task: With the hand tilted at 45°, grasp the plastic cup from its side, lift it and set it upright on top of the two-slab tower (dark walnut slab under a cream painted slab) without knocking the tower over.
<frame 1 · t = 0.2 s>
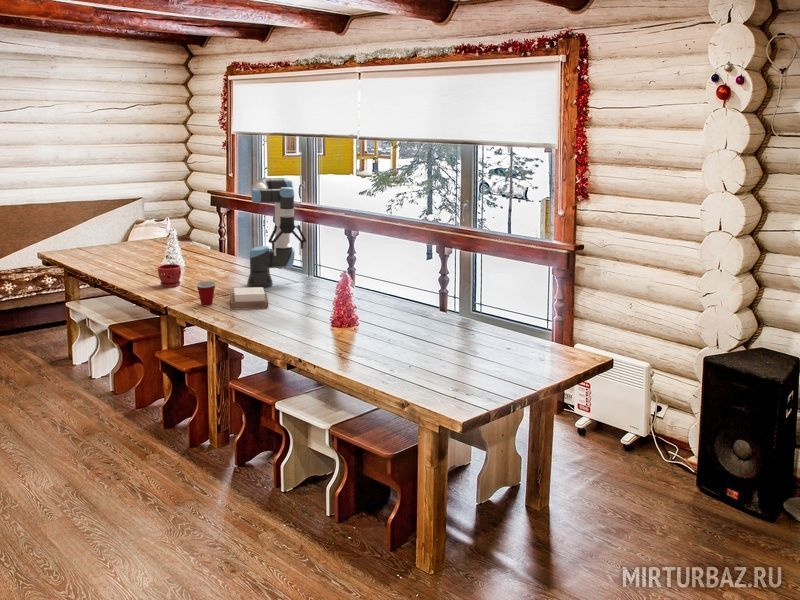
hand: (287, 255, 438), 28 cm above the table, tool pointing down, fingers open, 13 cm apart
tower top slab: (249, 297, 443), point 3 cm above the table
tower base slab: (249, 305, 444), on the table
plant pot: (170, 286, 481), on the table
plastic cup: (206, 304, 440), on the table
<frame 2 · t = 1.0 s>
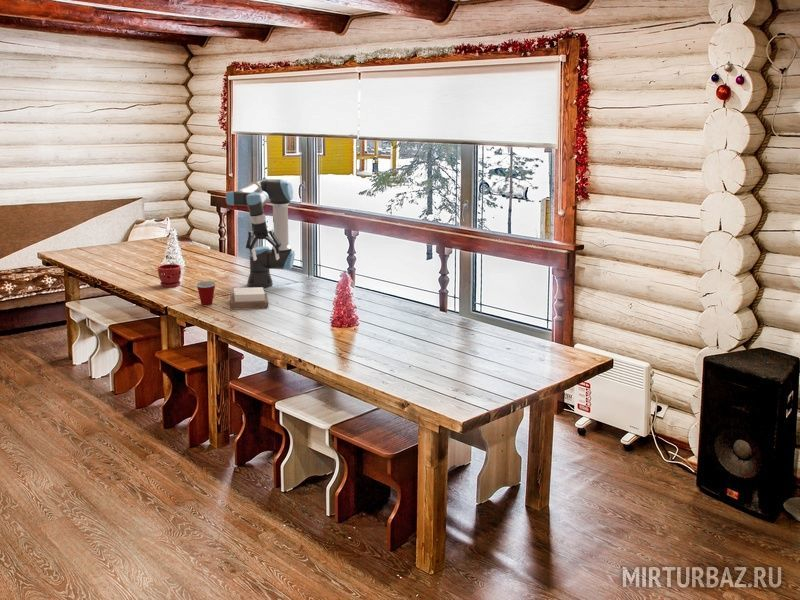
hand: (266, 259, 434), 26 cm above the table, tool pointing down, fingers open, 13 cm apart
tower top slab: (249, 298, 443), point 3 cm above the table, touching tower base slab
tower base slab: (249, 305, 444), on the table, touching tower top slab
everything else where it was.
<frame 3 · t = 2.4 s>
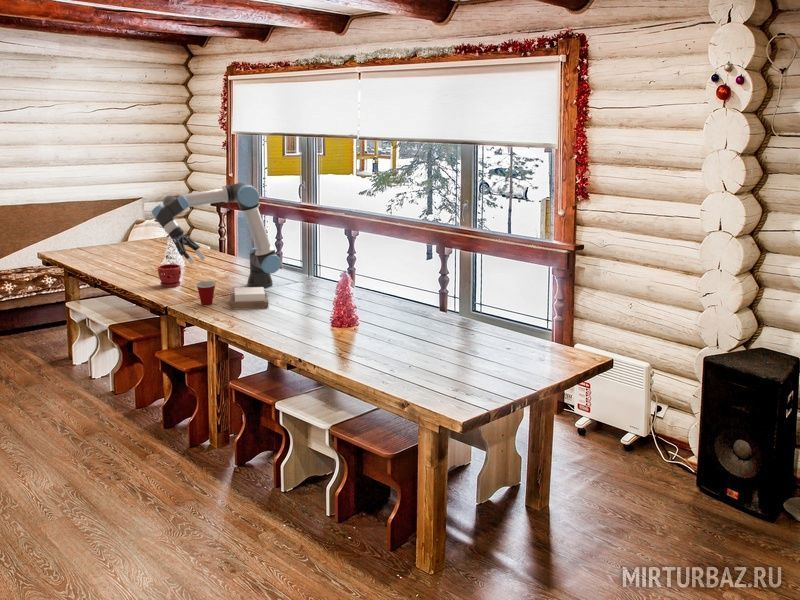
hand: (198, 261, 436), 24 cm above the table, tool tilted 40°, fingers open, 13 cm apart
tower top slab: (249, 297, 443), point 3 cm above the table
tower base slab: (249, 304, 444), on the table
everything else where it was.
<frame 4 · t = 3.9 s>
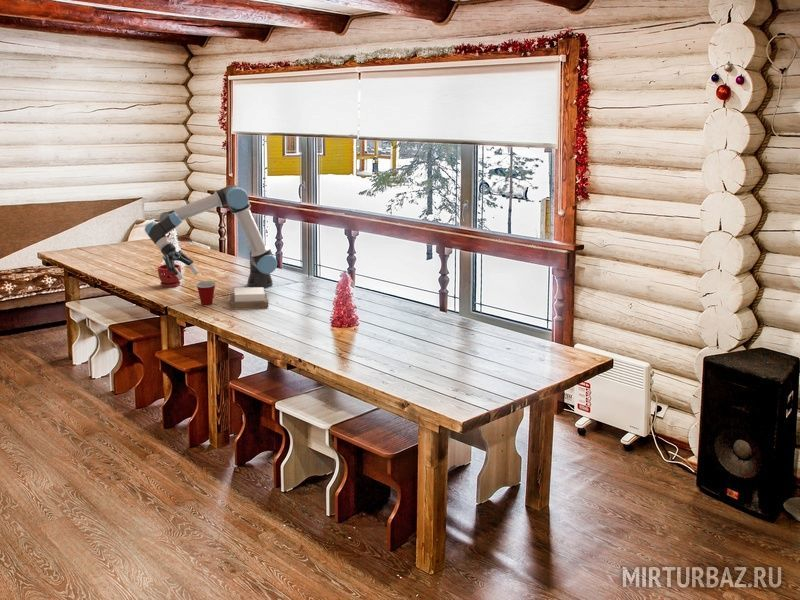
hand: (189, 276, 441), 15 cm above the table, tool tilted 45°, fingers open, 13 cm apart
tower top slab: (249, 297, 443), point 3 cm above the table, touching tower base slab
tower base slab: (249, 305, 444), on the table, touching tower top slab
everything else where it was.
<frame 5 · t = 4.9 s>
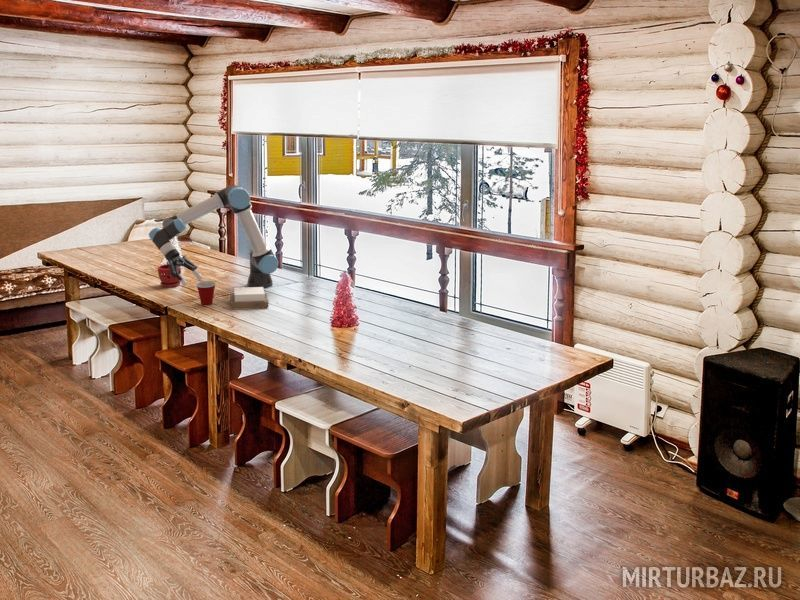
hand: (193, 282, 440), 12 cm above the table, tool tilted 45°, fingers open, 13 cm apart
nothing on the table moved.
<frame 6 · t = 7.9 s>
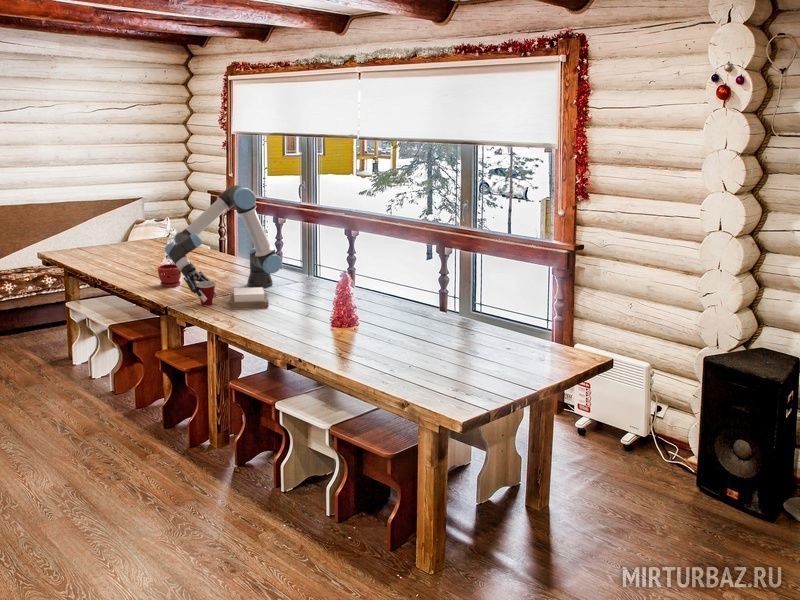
hand: (211, 298, 438), 4 cm above the table, tool tilted 45°, fingers closed on plastic cup, 9 cm apart
plastic cup: (206, 304, 440), on the table, touching gripper
everything else where it was.
when the fingers open (13 cm above the table, at t = 15.1 s): plastic cup drops 2 cm, resting on tower top slab.
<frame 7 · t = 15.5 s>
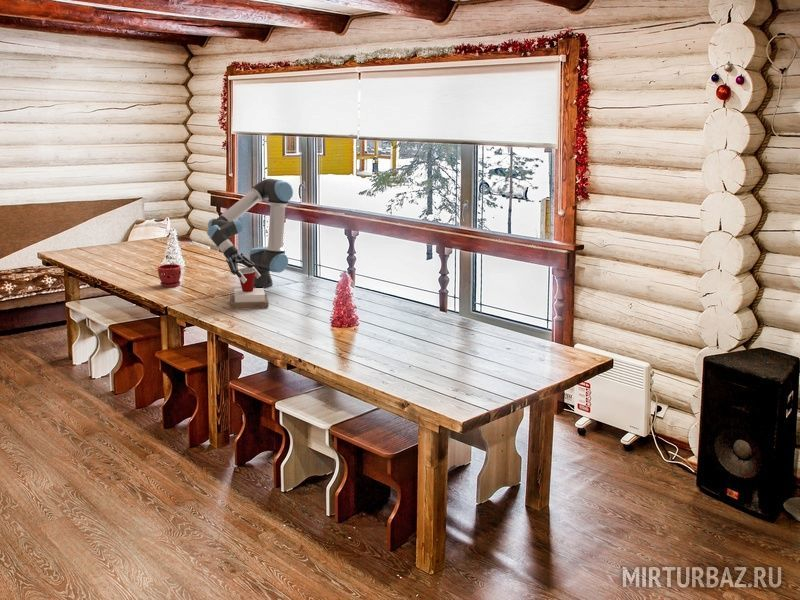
hand: (252, 279, 440), 14 cm above the table, tool tilted 45°, fingers open, 13 cm apart
tower top slab: (249, 298, 443), point 3 cm above the table, touching plastic cup, tower base slab
plastic cup: (247, 291, 443), point 7 cm above the table, touching tower top slab
everything else where it was.
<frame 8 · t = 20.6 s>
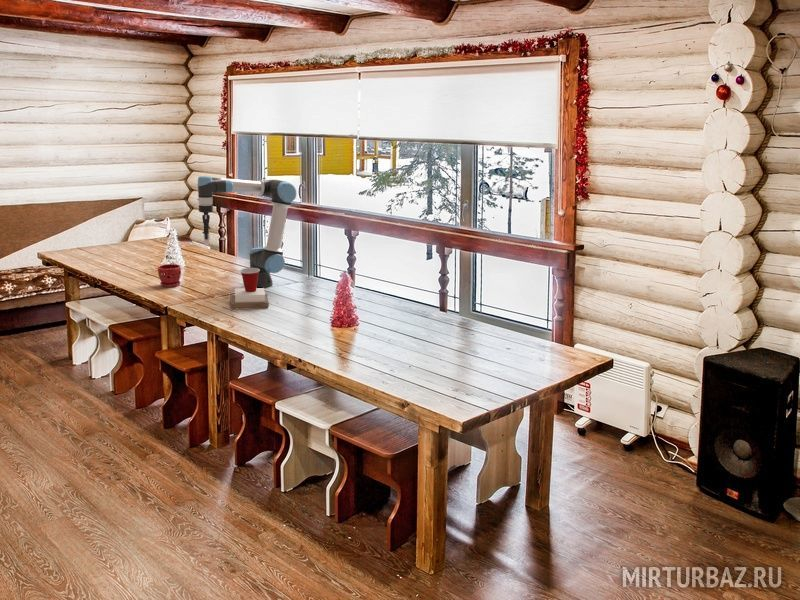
hand: (206, 243, 446), 32 cm above the table, tool pointing down, fingers open, 13 cm apart
plastic cup: (250, 291, 443), point 7 cm above the table, touching tower top slab
everything else where it was.
at the end: plastic cup inside the target area on the tower top slab (0.8 cm from its centre), point 4.0 cm above the tower top slab's base; plastic cup tilted 4°; tower top slab moved 0.9 cm from its start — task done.
